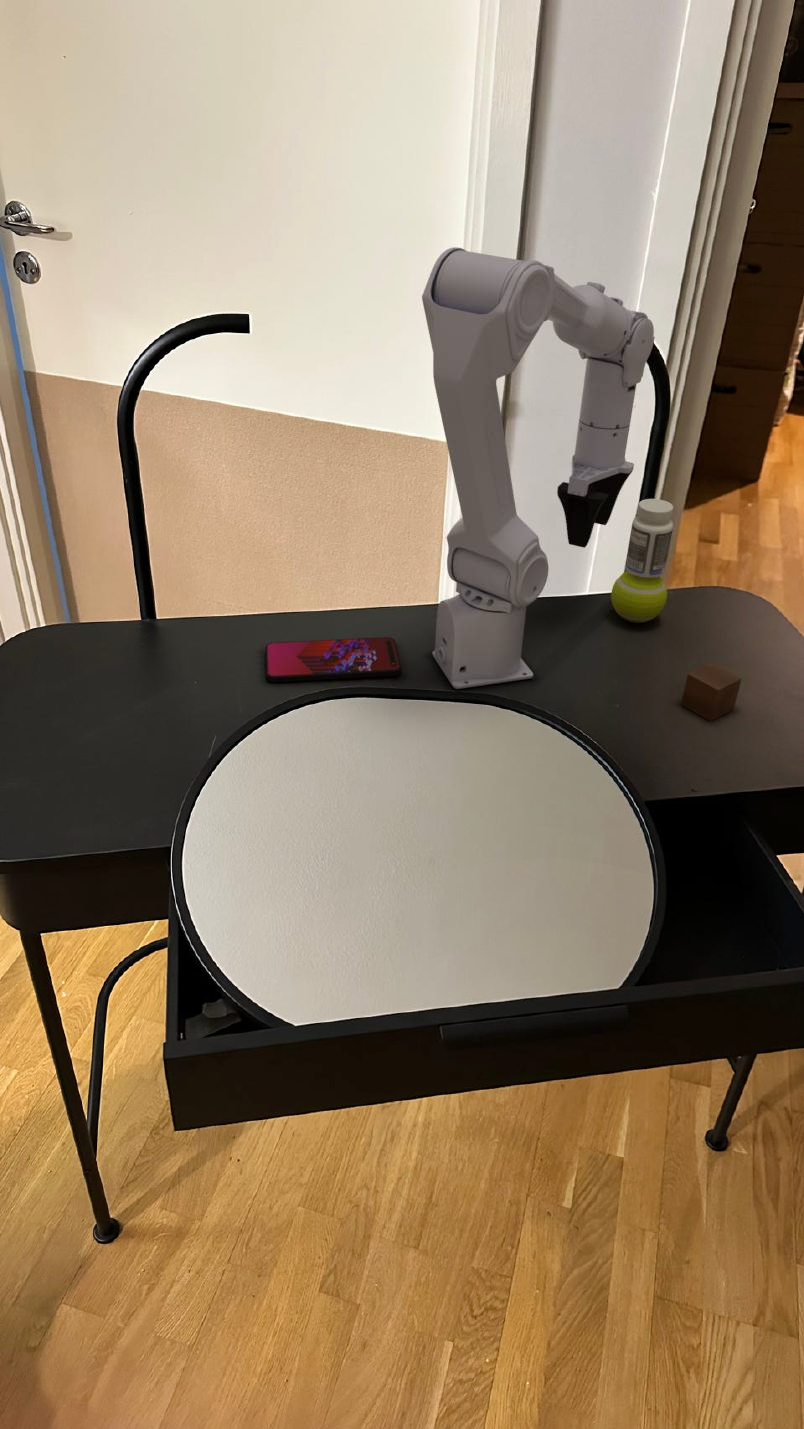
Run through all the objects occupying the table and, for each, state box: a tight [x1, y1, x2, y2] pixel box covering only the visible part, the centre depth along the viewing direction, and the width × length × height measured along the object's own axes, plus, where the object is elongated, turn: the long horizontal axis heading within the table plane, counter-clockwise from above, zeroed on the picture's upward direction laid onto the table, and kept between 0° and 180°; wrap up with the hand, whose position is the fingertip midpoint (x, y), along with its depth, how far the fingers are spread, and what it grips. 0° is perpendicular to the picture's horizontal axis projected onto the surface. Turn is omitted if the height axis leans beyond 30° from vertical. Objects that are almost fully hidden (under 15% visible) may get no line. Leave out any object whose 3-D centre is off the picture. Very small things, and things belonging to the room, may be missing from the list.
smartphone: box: [265, 636, 402, 683], centre depth 111 cm, size 8×1×15 cm
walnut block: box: [680, 662, 742, 722], centre depth 105 cm, size 4×4×4 cm
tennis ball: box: [610, 570, 668, 624], centre depth 121 cm, size 7×7×7 cm
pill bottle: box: [624, 498, 674, 578], centre depth 116 cm, size 5×5×8 cm
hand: (588, 533), depth 118 cm, fingers open, 7 cm apart
